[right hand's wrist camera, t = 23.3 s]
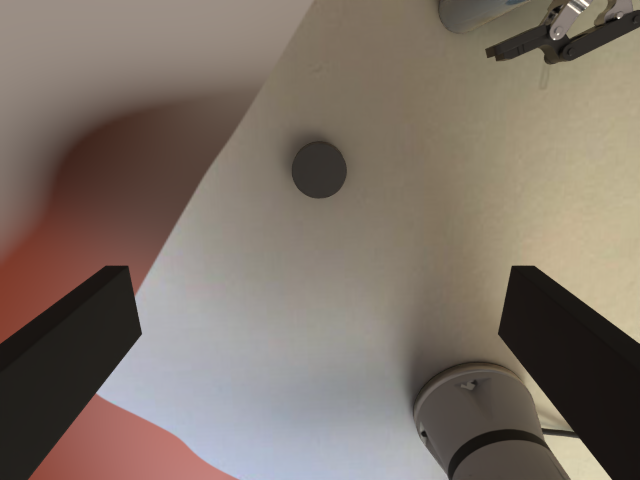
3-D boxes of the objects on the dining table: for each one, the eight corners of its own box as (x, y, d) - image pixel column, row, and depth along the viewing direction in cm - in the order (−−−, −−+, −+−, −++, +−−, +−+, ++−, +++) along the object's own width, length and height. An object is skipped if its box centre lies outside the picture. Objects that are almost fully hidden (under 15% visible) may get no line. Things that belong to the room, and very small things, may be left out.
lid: (355, 159, 37) (357, 162, 35) (327, 202, 39) (327, 208, 37) (310, 131, 36) (309, 132, 34) (284, 176, 38) (282, 180, 36)
